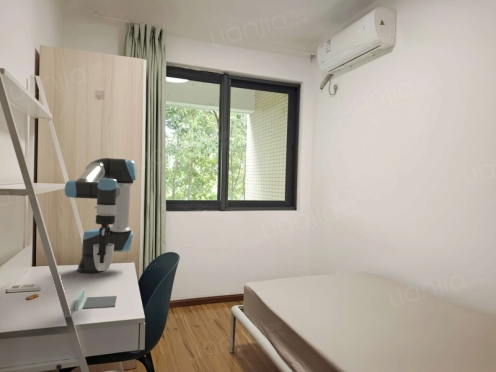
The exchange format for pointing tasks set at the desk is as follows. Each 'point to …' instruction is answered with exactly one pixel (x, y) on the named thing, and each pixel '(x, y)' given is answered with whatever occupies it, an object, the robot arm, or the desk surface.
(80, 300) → the wall
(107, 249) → the cup
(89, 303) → the mat
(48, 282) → the desk surface
